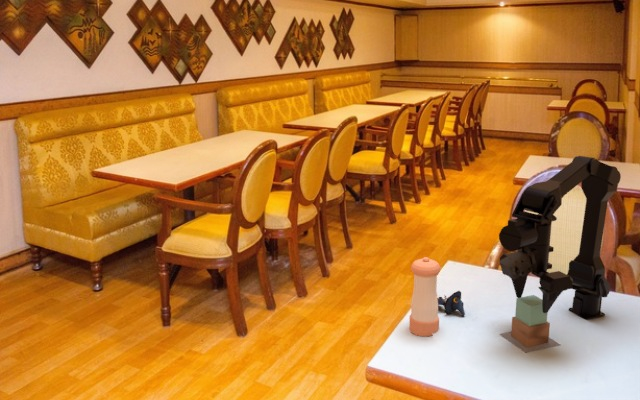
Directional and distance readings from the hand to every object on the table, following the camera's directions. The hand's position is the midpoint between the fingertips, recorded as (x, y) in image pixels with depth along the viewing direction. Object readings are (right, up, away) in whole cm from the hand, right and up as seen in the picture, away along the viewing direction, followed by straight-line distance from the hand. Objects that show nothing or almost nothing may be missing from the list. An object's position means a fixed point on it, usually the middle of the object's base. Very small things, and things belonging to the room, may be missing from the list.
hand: (531, 304), depth 142 cm
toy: (-17, -5, +21) cm, 27 cm away
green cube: (0, -4, +1) cm, 4 cm away
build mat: (0, -9, +2) cm, 10 cm away
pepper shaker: (-24, -8, +9) cm, 27 cm away
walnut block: (0, -9, +2) cm, 9 cm away
